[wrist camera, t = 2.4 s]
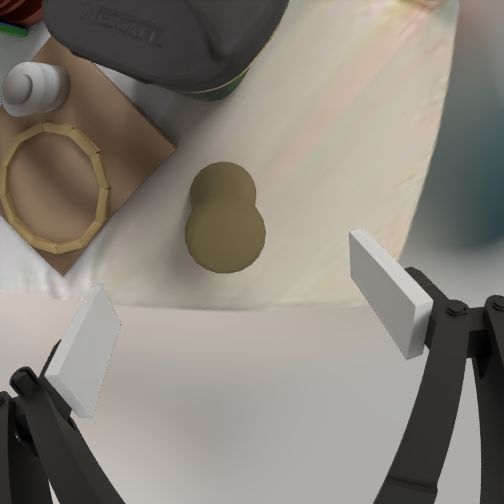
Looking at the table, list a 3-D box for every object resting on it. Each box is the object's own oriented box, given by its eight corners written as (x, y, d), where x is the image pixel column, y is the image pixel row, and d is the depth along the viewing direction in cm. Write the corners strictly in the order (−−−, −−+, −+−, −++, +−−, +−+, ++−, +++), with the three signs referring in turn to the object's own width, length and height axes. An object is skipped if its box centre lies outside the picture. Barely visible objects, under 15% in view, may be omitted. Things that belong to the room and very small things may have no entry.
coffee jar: (267, 39, 23) (347, -52, 6) (221, 113, 25) (226, 128, 9) (170, -4, 20) (111, -124, 3) (126, 69, 22) (-7, 38, 6)
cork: (206, 234, 30) (202, 300, 20) (179, 177, 28) (157, 221, 18) (265, 210, 30) (288, 267, 20) (241, 151, 27) (254, 180, 17)
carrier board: (62, 33, 19) (21, 20, 13) (177, 147, 26) (163, 162, 20) (-26, 170, 24) (-68, 191, 17) (68, 269, 30) (40, 309, 24)
